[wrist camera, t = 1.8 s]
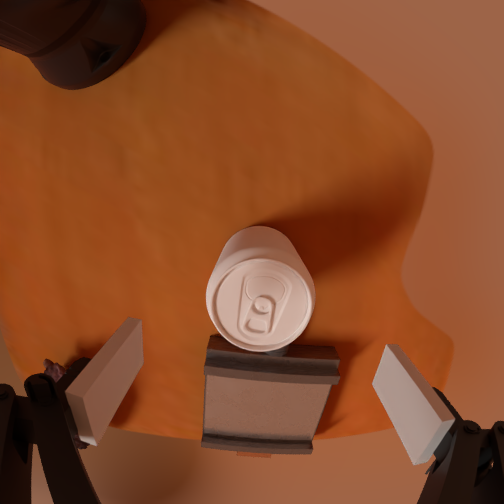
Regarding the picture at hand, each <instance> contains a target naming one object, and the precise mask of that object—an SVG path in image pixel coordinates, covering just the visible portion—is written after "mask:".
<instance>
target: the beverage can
mask: <svg viewBox="0 0 504 504" xmlns="http://www.w3.org/2000/svg"><path fill="white" fill-rule="evenodd" d="M206 304H207V309H208V312H209V315H210V318H211V320H212V322H213V323H214V325H215V326H216V328H217V330H218V331H219V332H220V334H221V335H222V336H223V337H224V338H225V339H227V340H228V341H229V342H230V343H232V344H234V345H236V346H238V347H240V348H243V349H246V350H250V351H258V352H263V351H271V350H276V349H279V348H281V347H284V346H286V345H288V344H289V343H291V342H292V341H294V340H295V339H296V338H297V337H298V336H299V335H300V334H301V333H302V332H303V331H304V329H305V328H306V326H307V324H308V322H309V320H310V318H311V316H312V313H313V310H314V306H315V287H314V283H313V280H312V277H311V275H310V273H309V272H308V270H307V268H306V266H305V265H304V263H303V261H302V260H301V258H300V256H299V255H298V253H297V251H296V249H295V248H294V246H293V244H292V243H291V242H290V240H289V239H288V238H287V237H286V236H285V235H284V234H282V233H281V232H279V231H278V230H276V229H273V228H270V227H266V226H252V227H248V228H245V229H243V230H241V231H239V232H237V233H236V234H234V235H233V236H232V237H231V238H230V239H229V240H228V242H227V243H226V245H225V246H224V248H223V251H222V253H221V255H220V257H219V259H218V262H217V264H216V266H215V268H214V270H213V273H212V275H211V277H210V280H209V282H208V286H207V291H206Z"/></svg>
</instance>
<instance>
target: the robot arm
mask: <svg viewBox="0 0 504 504" xmlns="http://www.w3.org/2000/svg"><path fill="white" fill-rule="evenodd" d="M145 25H146V11H145V8H144V5H143V4H142V2H141V1H140V0H0V46H2V47H5V48H7V49H10V50H12V51H15V52H17V53H20V54H22V55H25V56H27V57H28V58H29V59H30V60H31V62H32V63H33V64H34V65H35V67H36V68H37V69H38V70H39V71H40V73H41V75H42V76H43V78H44V79H45V80H47V81H48V82H49V83H51V84H53V85H56V86H58V87H60V88H63V89H68V90H76V89H82V88H86V87H89V86H92V85H94V84H96V83H98V82H100V81H102V80H103V79H105V78H106V77H108V76H109V75H111V74H112V73H113V72H114V71H116V70H117V69H118V68H119V67H120V66H121V65H122V64H123V63H124V62H125V61H126V60H127V59H128V58H129V56H130V55H131V54H132V53H133V51H134V50H135V48H136V47H137V45H138V43H139V41H140V39H141V37H142V35H143V32H144V29H145ZM143 363H144V360H143V342H142V320H140V319H135V318H130V317H128V318H127V319H126V321H125V322H124V323H123V324H122V325H121V326H120V327H119V328H118V330H117V331H116V332H115V333H114V334H113V335H112V336H111V338H110V339H109V340H108V341H107V342H106V343H105V344H104V346H103V347H102V348H101V349H100V350H99V351H98V353H97V354H96V355H95V356H94V357H93V358H92V359H89V358H85V357H83V358H81V359H79V360H77V361H75V362H74V363H73V364H72V365H71V367H70V368H69V369H68V370H67V371H66V372H65V374H63V375H62V377H61V378H60V379H59V380H58V381H57V382H56V383H55V381H54V379H53V378H52V377H51V376H50V375H47V374H34V375H31V376H30V377H28V378H27V379H26V380H25V382H24V388H25V390H26V393H27V396H28V397H23V396H18V395H16V393H15V391H14V389H13V388H12V387H11V386H10V385H7V384H0V504H31V469H32V452H33V444H37V446H38V450H39V454H40V458H41V463H42V466H43V470H44V473H45V477H46V480H47V484H48V487H49V490H50V493H51V496H52V499H53V502H54V504H101V502H100V500H99V498H98V496H97V494H96V492H95V490H94V487H93V486H92V483H91V481H90V479H89V477H88V474H87V471H86V469H85V467H84V464H83V462H82V459H81V457H80V454H79V451H78V448H77V446H76V443H75V440H74V437H75V435H76V433H77V432H78V434H79V437H80V439H81V441H84V442H87V443H89V444H92V445H95V446H97V445H98V443H99V442H100V440H101V438H102V436H103V434H104V432H105V431H106V429H107V427H108V425H109V423H110V421H111V420H112V418H113V416H114V414H115V412H116V411H117V409H118V407H119V405H120V404H121V402H122V400H123V398H124V396H125V395H126V393H127V391H128V389H129V388H130V386H131V384H132V382H133V381H134V379H135V377H136V375H137V374H138V372H139V370H140V369H141V367H142V365H143ZM372 385H373V387H374V389H375V391H376V393H377V394H378V396H379V398H380V400H381V402H382V404H383V406H384V408H385V410H386V411H387V413H388V415H389V417H390V419H391V421H392V423H393V425H394V427H395V429H396V431H397V433H398V435H399V437H400V439H401V441H402V443H403V445H404V446H405V449H406V451H407V453H408V455H409V457H410V459H411V461H412V463H413V465H417V464H421V463H426V462H427V461H428V460H429V459H430V457H431V456H432V454H434V455H435V457H436V460H435V461H434V462H433V464H432V465H431V466H430V468H429V469H428V470H427V471H426V473H425V474H428V472H429V471H430V472H429V475H428V478H427V480H426V483H425V485H424V488H423V491H422V493H421V495H420V498H419V500H418V502H417V504H504V421H497V422H495V424H494V425H493V427H492V428H491V429H481V428H480V426H479V425H478V424H477V423H475V422H473V421H470V420H463V419H462V418H461V416H460V415H459V414H458V412H457V411H456V410H455V409H454V407H453V406H452V405H451V404H450V402H449V401H448V400H447V398H446V397H445V396H444V394H443V393H442V392H441V391H439V390H438V389H436V388H435V387H431V386H430V384H429V383H428V382H427V381H426V379H425V378H424V377H423V375H422V374H421V373H420V372H419V370H418V369H417V368H416V367H415V365H414V364H413V363H412V362H411V360H410V359H409V358H408V357H407V355H406V354H405V353H404V352H403V350H402V349H401V348H400V347H399V345H398V344H386V346H385V349H384V352H383V355H382V358H381V361H380V364H379V367H378V369H377V372H376V375H375V377H374V380H373V383H372ZM492 463H493V467H492V465H491V464H492Z"/></svg>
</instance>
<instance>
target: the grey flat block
mask: <svg viewBox="0 0 504 504" xmlns="http://www.w3.org/2000/svg"><path fill="white" fill-rule="evenodd" d="M339 362H340V358H339V356H338V354H337V352H336V350H335V347H326V346H309V345H295V344H288V345H286V346H284V347H281V348H279V349H276V350H271V351H263V352H258V351H250V350H246V349H243V348H240V347H238V346H236V345H234V344H232V343H230V342H229V341H228V340H227V339H225V338H224V337H217V336H210V339H209V343H208V346H207V355H206V361H205V365H204V375H205V391H204V414H203V435H202V441H201V447H205V448H213V449H220V450H229V451H237V455H239V456H251V457H271V454H311V453H312V450H313V446H312V440H313V437H314V435H315V432H316V429H317V427H318V424H319V421H320V419H321V416H322V413H323V411H324V408H325V405H326V402H327V399H328V396H329V393H330V390H331V387H332V385H338V382H339V379H340V374H339V372H338V365H339Z"/></svg>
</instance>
